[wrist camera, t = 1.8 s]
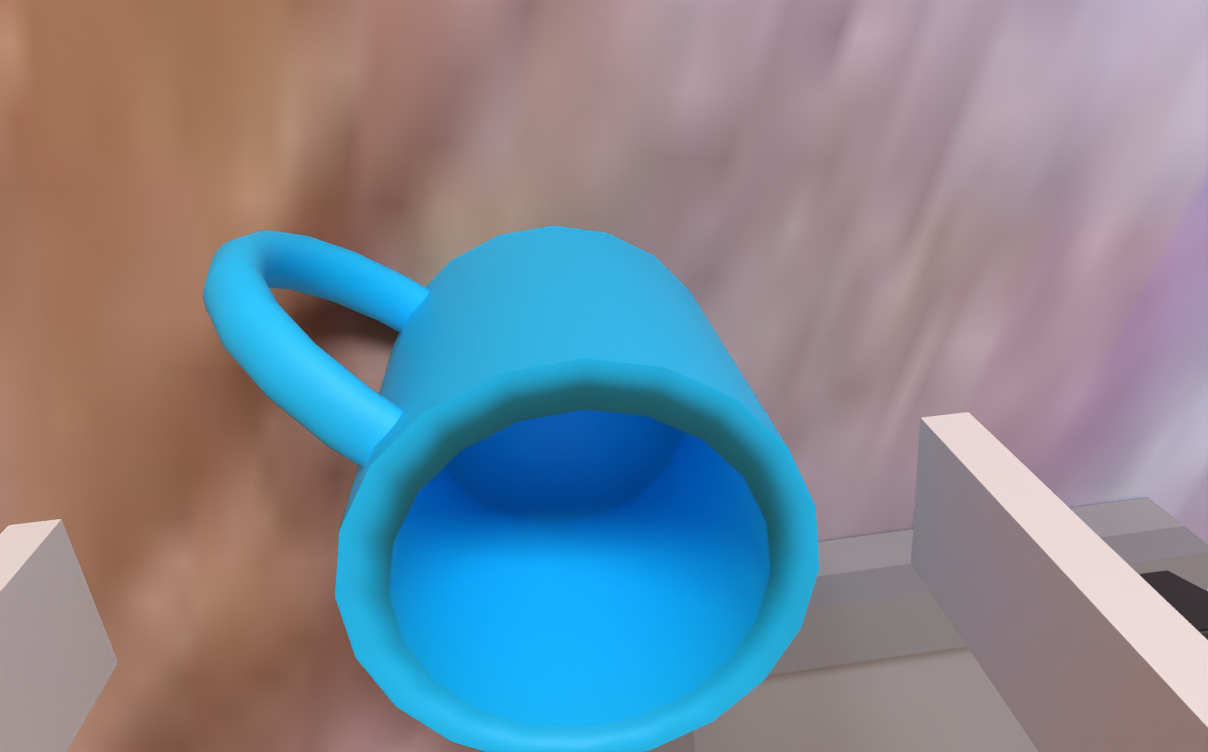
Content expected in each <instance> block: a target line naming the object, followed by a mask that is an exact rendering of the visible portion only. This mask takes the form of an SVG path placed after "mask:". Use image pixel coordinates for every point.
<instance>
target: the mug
mask: <svg viewBox="0 0 1208 752" xmlns="http://www.w3.org/2000/svg"><path fill="white" fill-rule="evenodd" d="M269 288H279V289H290V290H294V291H297V292H301V293H305V294H308V295H312V296H316V297H319V298H323V299H326V300H330V301H333V302H335V303H338V304H340V305H342V306H345V307H347V308H349V309H352V310H354V311H356V312H359V313H361V314H364V315H366V316H368V317H371V318H373V319H375V320H378V321H380V322H382V323H383V324H385V325H387V326H389V327H391V328H393V329H394V330H396V331H398V332H399V334H398V336H397V338H396V340H395V342H394V345H393V349H392V352H391V355H390V359H389V362H388V366H387V369H386V373H385V376H384V379H383V383H382V386H381V390H380V393H379V394H378V393H377V392H375V391H374V390H372V389H371V388H369V387H368V386H367V385H366V384H365V383H363V382H362V381H361V380H360V379H358V378H357V377H356V376H355V375H353V374H352V373H351V372H350V371H348V370H347V369H346V368H345V367H344V366H342V365H341V364H340V363H339V362H337V361H336V360H335V359H334V358H332V357H331V356H330V355H329V354H327V353H326V352H325V351H324V350H322V349H321V348H320V347H319V346H318V345H316V344H315V343H314V342H313V341H312V340H311V338H310V337H309V336H308V335H307V334H306V333H305V332H304V331H303V330H302V329H301V328H300V327H299V326H298V325H297V323H296V322H295V321H294V320H293V319H292V318H291V317H290V316H289V315H288V314H287V313H286V312H285V311H284V310H283V308H282V307H281V306H280V305H279V304H278V303H277V301H276V300H275V298H274V296H273V294H272V292H271V290H270V289H269ZM203 300H204V304H205V307H206V310H207V312H208V314H209V316H210V318H211V320H212V323H213V325H214V327H215V329H216V331H217V333H218V336H219V338H220V340H221V342H222V344H223V346H224V347H225V349H226V350H227V351H228V353H229V354H230V355H231V356H232V357H233V358H234V359H235V360H236V362H237V363H238V364H239V365H240V366H241V367H242V368H243V370H244V371H245V372H246V373H247V374H248V375H249V376H250V378H251V379H252V380H253V381H254V382H255V383H256V384H257V385H258V387H259V388H260V389H261V390H262V391H263V392H264V393H265V395H266V396H267V397H268V398H269V399H271V400H272V401H273V402H274V403H275V404H277V405H278V406H279V407H280V408H282V409H283V410H284V411H285V412H286V413H288V414H289V415H290V416H291V417H293V418H294V419H295V420H296V421H298V422H299V423H300V424H301V425H302V426H304V427H305V428H306V429H307V430H309V431H310V432H311V433H312V434H313V435H315V436H316V437H317V438H318V439H320V440H321V441H322V442H323V443H325V444H326V445H327V446H328V447H330V448H332V449H333V450H335V451H336V452H338V453H340V454H341V455H343V456H345V457H346V458H348V459H349V460H351V461H353V462H354V463H356V464H357V465H358V469H357V472H356V475H355V479H354V482H353V486H352V489H351V493H350V496H349V499H348V503H347V506H346V510H345V513H344V517H343V520H342V523H341V527H340V530H339V543H338V560H337V576H336V592H335V598H336V601H337V604H338V607H339V610H340V613H341V616H342V619H343V622H344V625H345V628H346V631H347V634H348V637H349V639H350V642H351V645H352V648H353V651H354V654H355V657H356V659H357V660H358V661H359V662H360V663H361V665H362V666H363V667H364V668H365V669H366V671H367V672H368V673H369V674H370V676H371V677H372V678H373V679H374V680H375V682H376V683H377V684H378V685H379V687H380V688H381V689H382V690H383V691H384V693H385V694H386V695H387V696H388V697H389V699H390V700H391V701H392V702H393V704H394V705H395V706H396V707H397V708H399V709H401V710H402V711H404V712H405V713H407V714H408V715H410V716H412V717H413V718H415V719H416V720H418V721H420V722H421V723H423V724H424V725H426V726H427V727H429V728H431V729H432V730H434V731H435V732H437V733H439V734H440V735H442V736H443V737H445V738H446V739H448V740H450V741H451V742H454V743H458V744H461V745H465V746H468V747H471V748H475V749H478V750H481V751H485V752H643V751H648V750H652V749H654V748H657V747H659V746H661V745H663V744H665V743H668V742H670V741H672V740H674V739H676V738H678V737H681V736H683V735H685V734H687V733H689V732H691V731H694V730H696V729H698V728H700V727H702V726H705V725H707V724H709V723H711V722H713V721H714V720H716V719H717V718H718V717H719V716H721V715H722V714H723V713H724V712H725V711H727V710H728V709H729V708H730V707H732V706H733V705H734V704H735V703H737V702H738V701H739V700H740V699H742V698H743V697H744V696H745V695H747V694H748V693H749V692H750V691H752V690H753V689H754V688H755V687H756V686H758V685H759V684H760V683H761V682H763V681H764V680H765V678H766V677H767V676H768V674H769V673H770V671H771V670H772V669H773V667H774V666H775V664H776V663H777V661H778V660H779V659H780V657H781V656H782V654H783V653H784V652H785V650H786V649H787V647H788V646H789V644H790V643H791V642H792V640H793V639H794V637H795V636H796V635H797V633H798V632H799V630H800V629H801V627H802V623H803V620H804V617H805V614H806V610H807V607H808V604H809V600H810V597H811V594H812V591H813V587H814V584H815V581H816V578H817V574H818V571H819V556H818V539H817V522H816V506H815V504H814V502H813V500H812V498H811V496H810V494H809V491H808V489H807V487H806V485H805V483H804V481H803V479H802V477H801V474H800V472H799V470H798V468H797V466H796V464H795V462H794V460H793V457H792V455H791V453H790V451H789V449H788V447H787V445H786V444H785V442H784V441H783V439H782V437H781V436H780V434H779V433H778V431H777V429H776V428H775V426H774V425H773V423H772V422H771V420H770V418H769V417H768V415H767V414H766V412H765V410H764V409H763V407H762V406H761V404H760V402H759V401H758V399H757V398H756V396H755V394H754V393H753V391H752V390H751V388H750V386H749V385H748V383H747V382H746V380H745V378H744V377H743V375H742V374H741V372H740V370H739V369H738V367H737V366H736V364H735V362H734V361H733V359H732V358H731V356H730V355H729V353H728V351H727V350H726V348H725V347H724V345H723V343H722V342H721V340H720V339H719V337H718V335H717V334H716V332H715V331H714V329H713V327H712V326H711V324H710V323H709V321H708V319H707V318H706V316H705V315H704V313H703V311H702V310H701V308H700V307H699V305H698V303H697V302H696V300H695V299H694V297H693V296H692V294H691V292H690V291H689V290H688V289H687V288H686V287H685V286H684V285H683V284H682V283H681V282H680V281H679V280H678V279H677V278H676V277H675V276H674V275H673V274H672V273H671V272H670V271H669V270H668V269H667V268H666V267H665V266H664V265H663V264H662V263H661V262H660V261H659V260H658V259H657V258H656V257H655V256H653V255H651V254H649V253H647V252H645V251H643V250H641V249H639V248H637V247H635V246H633V245H631V244H629V243H627V242H625V241H622V240H620V239H618V238H616V237H614V236H612V235H610V234H608V233H603V232H596V231H589V230H581V229H574V228H567V227H560V226H549V227H543V228H537V229H531V230H526V231H520V232H514V233H508V234H503V235H498V236H497V237H495V238H493V239H491V240H489V241H487V242H485V243H483V244H481V245H479V246H478V247H476V248H474V249H472V250H470V251H468V252H466V253H464V254H462V255H460V256H458V257H457V258H455V259H453V260H451V261H450V262H449V263H448V264H447V265H446V266H445V267H444V268H443V269H442V270H441V271H440V272H439V273H438V275H437V276H436V277H435V278H434V279H433V280H432V281H431V282H430V283H429V284H428V285H427V286H426V287H423V286H422V285H420V284H418V283H416V282H415V281H413V280H411V279H410V278H408V277H406V276H404V275H402V274H400V273H398V272H396V271H394V270H392V269H390V268H388V267H385V266H383V265H381V264H379V263H377V262H375V261H373V260H371V259H368V258H366V257H364V256H362V255H360V254H358V253H356V252H354V251H351V250H348V249H345V248H342V247H339V246H336V245H333V244H330V243H327V242H324V241H321V240H318V239H315V238H312V237H309V236H305V235H298V234H290V233H283V232H276V231H266V230H262V231H259V232H255V233H252V234H249V235H246V236H243V237H240V238H237V239H234V240H230V241H228V242H227V243H225V244H224V245H222V246H221V247H220V248H219V249H218V250H217V252H216V253H215V254H214V257H213V259H212V261H211V264H210V268H209V271H208V275H207V279H206V283H205V286H204V293H203Z"/></svg>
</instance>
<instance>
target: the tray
mask: <svg viewBox="0 0 1208 752" xmlns="http://www.w3.org/2000/svg"><path fill="white" fill-rule="evenodd" d="M1070 509H1071V510H1072V511H1073V512H1074V513H1075V514H1076V515H1077V516H1078V517H1079V518H1080V519H1081V520H1082V521H1083V522H1084V523H1085V524H1086V525H1087V526H1088V527H1090V528H1091V529H1092V530H1093V531H1094V532H1095V533H1096V534H1097V535H1098V536H1099V537H1100V538H1101V539H1102V540H1103V541H1104V542H1105V543H1106V544H1107V545H1108V546H1109V547H1110V548H1112V549H1113V550H1114V551H1115V552H1116V553H1117V554H1118V555H1119V556H1120V557H1121V558H1122V559H1123V560H1124V561H1125V562H1126V563H1127V564H1128V565H1129V566H1130V567H1131V568H1133V569H1134V570H1135V571H1136V572H1137V573H1138V574H1143V573H1150V572H1158V571H1166V570H1168V571H1170V572H1172V573H1173V574H1175V575H1177V576H1179V577H1181V578H1183V579H1185V580H1187V581H1189V582H1191V583H1193V584H1194V585H1196V586H1198V587H1200V588H1202V589H1204V590H1206V591H1207V588H1208V545H1207V544H1206V543H1205V542H1204V541H1202V540H1201V539H1200V538H1199V537H1197V536H1196V535H1195V534H1193V533H1192V532H1191V531H1190V530H1188V529H1187V528H1186V527H1185V526H1183V525H1182V524H1181V523H1180V522H1178V521H1177V520H1176V519H1174V518H1173V517H1172V516H1171V515H1169V514H1168V513H1167V512H1166V511H1164V510H1163V509H1162V508H1160V507H1159V506H1158V505H1157V504H1155V503H1154V502H1153V501H1152V500H1150V499H1149V498H1148V497H1147V498H1139V499H1132V500H1125V501H1117V502H1110V503H1102V504H1095V505H1088V506H1080V507H1073V508H1070ZM912 537H913V529H910V530H903V531H895V532H888V533H880V534H873V535H866V536H858V537H851V538H843V539H836V540H828V541H821V542H818V556H819V571H818V574H817V578H816V581H815V584H814V587H813V591H812V594H811V597H810V600H809V604H808V607H807V610H806V614H805V617H804V620H803V623H802V627H801V629H800V630H799V632H798V633H797V635H796V636H795V637H794V639H793V640H792V642H791V643H790V644H789V646H788V647H787V649H786V650H785V652H784V653H783V654H782V656H781V657H780V659H779V660H778V661H777V663H776V664H775V666H774V667H773V669H772V670H771V671H770V673H769V674H768V676H767V677H766V678H765V680H764V681H763V682H761V683H760V684H759V685H758V686H756V687H755V688H754V689H753V690H752V691H750V692H749V693H748V694H747V695H745V696H744V697H743V698H742V699H740V700H739V701H738V702H737V703H735V704H734V705H733V706H732V707H730V708H729V709H728V710H727V711H725V712H724V713H723V714H722V715H721V716H719V717H718V718H717V719H716V720H714V721H713V722H711V723H709V724H707V725H705V726H702V727H700V728H698V729H696V730H694V731H691V732H689V733H687V734H685V735H683V736H681V737H678V738H676V739H674V740H672V741H670V742H668V743H665V744H663V745H661V746H659V747H657V748H654V749H652V750H648V751H643V752H1038V750H1037V749H1036V747H1035V746H1034V744H1033V743H1032V741H1031V740H1030V738H1029V737H1028V735H1027V734H1026V732H1025V731H1024V729H1023V728H1022V727H1021V725H1020V724H1019V722H1018V721H1017V719H1016V718H1015V716H1014V715H1013V713H1012V712H1011V710H1010V709H1009V707H1008V706H1007V704H1006V703H1005V701H1004V700H1003V699H1002V697H1001V696H1000V694H999V693H998V691H997V690H996V688H995V687H994V685H993V684H992V682H991V681H990V679H989V678H988V676H987V675H986V673H985V672H984V671H983V669H982V668H981V666H980V665H979V663H978V662H977V660H976V659H975V657H974V656H973V654H972V653H971V651H970V650H969V648H968V647H967V645H966V644H965V643H964V641H963V640H962V638H961V637H960V635H959V634H958V632H957V631H956V629H955V628H954V626H953V625H952V623H951V622H950V620H949V619H948V617H947V616H946V615H945V613H944V612H943V610H942V609H941V607H940V606H939V604H938V603H937V601H936V600H935V598H934V597H933V595H932V594H931V592H930V591H929V589H928V588H927V586H926V585H925V584H924V582H923V581H922V579H921V578H920V576H919V575H918V573H917V572H916V570H915V569H914V567H913V566H912V564H911V551H912Z"/></svg>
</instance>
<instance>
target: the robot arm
mask: <svg viewBox="0 0 1208 752" xmlns="http://www.w3.org/2000/svg"><path fill="white" fill-rule="evenodd" d="M911 564H912V566H913V567H914V569H915V570H916V572H917V573H918V575H919V576H920V578H921V579H922V581H923V582H924V584H925V585H926V586H927V588H928V589H929V591H930V592H931V594H932V595H933V597H934V598H935V600H936V601H937V603H938V604H939V606H940V607H941V609H942V610H943V612H944V613H945V615H946V616H947V617H948V619H949V620H950V622H951V623H952V625H953V626H954V628H955V629H956V631H957V632H958V634H959V635H960V637H961V638H962V640H963V641H964V643H965V644H966V645H967V647H968V648H969V650H970V651H971V653H972V654H973V656H974V657H975V659H976V660H977V662H978V663H979V665H980V666H981V668H982V669H983V671H984V672H985V673H986V675H987V676H988V678H989V679H990V681H991V682H992V684H993V685H994V687H995V688H996V690H997V691H998V693H999V694H1000V696H1001V697H1002V699H1003V700H1004V701H1005V703H1006V704H1007V706H1008V707H1009V709H1010V710H1011V712H1012V713H1013V715H1014V716H1015V718H1016V719H1017V721H1018V722H1019V724H1020V725H1021V727H1022V728H1023V729H1024V731H1025V732H1026V734H1027V735H1028V737H1029V738H1030V740H1031V741H1032V743H1033V744H1034V746H1035V747H1036V749H1037V750H1038V752H1208V591H1206V590H1204V589H1202V588H1200V587H1198V586H1196V585H1194V584H1193V583H1191V582H1189V581H1187V580H1185V579H1183V578H1181V577H1179V576H1177V575H1175V574H1173V573H1172V572H1170V571H1168V570H1166V571H1158V572H1150V573H1143V574H1138V573H1137V572H1136V571H1135V570H1134V569H1133V568H1131V567H1130V566H1129V565H1128V564H1127V563H1126V562H1125V561H1124V560H1123V559H1122V558H1121V557H1120V556H1119V555H1118V554H1117V553H1116V552H1115V551H1114V550H1113V549H1112V548H1110V547H1109V546H1108V545H1107V544H1106V543H1105V542H1104V541H1103V540H1102V539H1101V538H1100V537H1099V536H1098V535H1097V534H1096V533H1095V532H1094V531H1093V530H1092V529H1091V528H1090V527H1088V526H1087V525H1086V524H1085V523H1084V522H1083V521H1082V520H1081V519H1080V518H1079V517H1078V516H1077V515H1076V514H1075V513H1074V512H1073V511H1072V510H1071V509H1070V508H1069V507H1067V506H1066V505H1065V504H1064V503H1063V502H1062V501H1061V500H1060V499H1059V498H1058V497H1057V496H1056V495H1055V494H1054V493H1053V492H1052V491H1051V490H1050V489H1049V488H1048V487H1046V486H1045V485H1044V484H1043V483H1042V482H1041V481H1040V480H1039V479H1038V478H1037V477H1036V476H1035V475H1034V474H1033V473H1032V472H1031V471H1030V470H1029V469H1028V468H1027V467H1025V466H1024V465H1023V464H1022V463H1021V462H1020V461H1019V460H1018V459H1017V458H1016V457H1015V456H1014V455H1013V454H1012V453H1011V452H1010V451H1009V450H1008V449H1007V448H1006V447H1005V446H1003V445H1002V444H1001V443H1000V442H999V441H998V440H997V439H996V438H995V437H994V436H993V435H992V434H991V433H990V432H989V431H988V430H987V429H986V428H985V427H984V426H982V425H981V424H980V423H979V422H978V421H977V420H976V419H975V418H974V417H973V416H972V415H971V414H970V413H969V412H966V413H957V414H949V415H940V416H932V417H923V418H921V422H920V436H919V451H918V465H917V479H916V494H915V508H914V523H913V537H912V551H911ZM117 664H118V662H117V659H116V657H115V654H114V652H113V649H112V646H111V644H110V641H109V639H108V636H107V634H106V631H105V629H104V626H103V624H102V621H101V618H100V616H99V613H98V611H97V608H96V606H95V603H94V601H93V598H92V596H91V593H90V590H89V588H88V585H87V583H86V580H85V578H84V575H83V573H82V570H81V568H80V565H79V563H78V560H77V557H76V555H75V552H74V550H73V547H72V545H71V542H70V540H69V537H68V535H67V532H66V529H65V527H64V524H63V522H62V519H58V520H50V521H41V522H33V523H24V524H16V525H9V526H8V527H7V528H6V529H5V530H4V531H3V532H2V533H1V534H0V752H66V751H67V750H68V748H69V746H70V745H71V743H72V741H73V739H74V738H75V736H76V734H77V733H78V731H79V729H80V727H81V726H82V724H83V722H84V720H85V719H86V717H87V715H88V714H89V712H90V710H91V708H92V707H93V705H94V703H95V702H96V700H97V698H98V696H99V695H100V693H101V691H102V690H103V688H104V686H105V684H106V683H107V681H108V679H109V678H110V676H111V674H112V672H113V671H114V669H115V667H116V666H117Z"/></svg>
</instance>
